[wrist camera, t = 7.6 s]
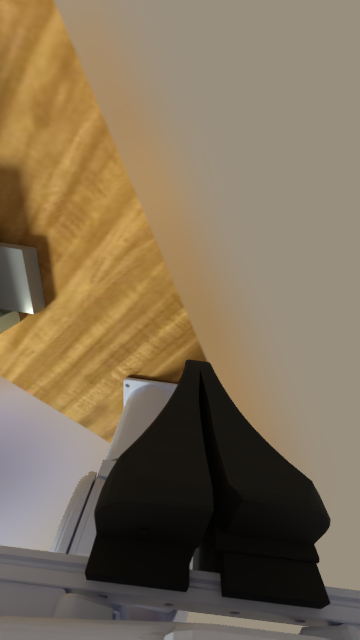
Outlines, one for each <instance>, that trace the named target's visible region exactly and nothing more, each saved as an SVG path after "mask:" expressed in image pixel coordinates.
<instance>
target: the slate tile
mask: <svg viewBox="0 0 360 640" xmlns="http://www.w3.org/2000/svg"><path fill="white" fill-rule="evenodd" d="M45 307H46V306H45V300H44V293H43V287H42V281H41V275H40V269H39V263H38V256H37V250H36V248H35V247H29V246H22V245H16V244H9V243H3V242H0V309H4V310H10V311H17V312H23V313H30V314H35V313H36V312H38V311H40V310H42V309H43V308H45Z"/></svg>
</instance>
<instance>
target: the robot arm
mask: <svg viewBox="0 0 360 640" xmlns="http://www.w3.org/2000/svg"><path fill="white" fill-rule="evenodd" d="M127 384H129V385H127ZM96 475H97V473H96V472H93V471H92V472H89V474H88V475H86V476H84V477H83V478H82V479H81V480H80V481H79V483H78V485H77V487H76V489H75V491H74V493H73V495H72V497H71V499H70V502H69V504H68V506H67V509H66V511H65V513H64V516H63V518H62V520H61V523H60V525H59V528H58V530H57V533H56V535H55V538H54V541H53V543H52V546H51V548H50V551H49V552H48V551H40V550H31V549H23V548H16V547H8V546H0V640H360V591H357V590H349V589H340V588H334V587H325V586H324V584H323V581H322V578H321V575H320V573H319V570H318V567H317V564H316V563H318V562H319V556H318V554H317V551H316V548H315V546H314V544H315V542H317V541H318V540H319V539H320V538H321V537H322V536H323V535H324V534H325V532H326V531H327V530H328V528H329V526H330V518H329V515H328V513H327V511H326V508H325V506H324V504H323V502H322V500H321V498H320V495H319V494H318V492H317V490H316V488H315V486H314V484H313V483H312V481H311V480H310V479H308V478H307V477H306V476H305V475H304V474H303V473H301V472H300V471H299V470H298V469H297V468H295V467H294V466H293V465H292V464H290V463H289V462H288V461H287V460H286V459H285V458H284V457H282V456H281V455H280V454H279V453H278V452H277V451H276V450H275V449H274V448H273V447H272V446H271V445H270V444H269V443H268V442H266V440H265V439H264V438H263V437H262V436H261V435H260V434H259V433H258V432H257V431H256V430H255V429H254V428H253V427H252V426H251V425H250V423H249V422H248V421H247V420H246V419H245V417H244V416H243V415H242V414H241V413H240V411H239V410H238V408H237V407H236V406H235V404H234V403H233V402H232V400H231V399H230V397H229V396H228V394H227V392H226V391H225V389H224V388H223V386H222V384H221V383H220V381H219V379H218V377H217V376H216V374H215V372H214V370H213V368H212V366H211V364H210V363H209V362H202V361H195V360H186V362H185V368H184V371H183V374H182V376H181V379H180V381H179V383H178V384H174V383H166V382H158V381H151V380H143V379H136V378H125V379H124V409H123V412H122V415H121V418H120V420H119V423H118V426H117V429H116V431H115V434H114V437H113V440H112V442H111V445H110V448H109V451H108V453H107V456H106V459H105V460H103V463H102V465H101V468H100V471H99V473H98V476H97V477H96ZM188 611H190V612H197V613H205V614H214V615H222V616H229V617H237V618H245V619H253V620H262V621H270V622H277V623H286V624H294V625H302V626H309V627H302V629H301V631H300V633H299V634H291V633H283V632H275V631H266V630H259V629H251V628H243V627H234V626H227V625H219V624H205V623H186V621H187V616H188Z"/></svg>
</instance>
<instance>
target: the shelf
mask: <svg viewBox="0 0 360 640" xmlns="http://www.w3.org/2000/svg"><path fill="white" fill-rule="evenodd" d="M19 322H21V321H20V317H19V313H18V312H17V311H10V310H4V309H0V333H2V332H4V331H5V330H7V329H9V328H10V327H12V326H14V325H15V324H17V323H19Z"/></svg>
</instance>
